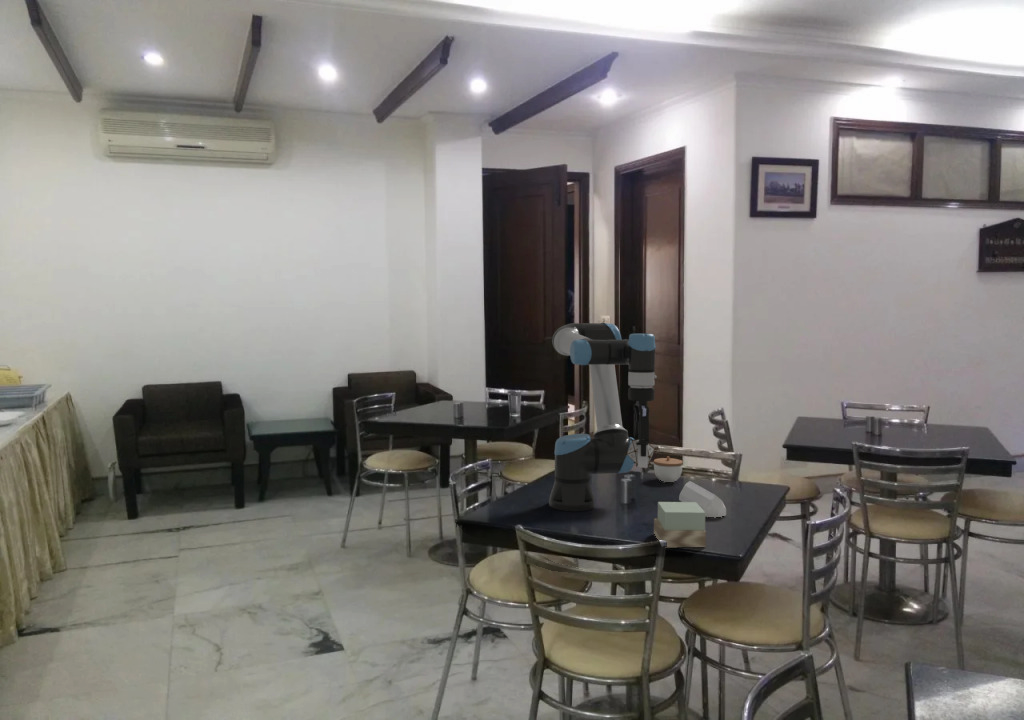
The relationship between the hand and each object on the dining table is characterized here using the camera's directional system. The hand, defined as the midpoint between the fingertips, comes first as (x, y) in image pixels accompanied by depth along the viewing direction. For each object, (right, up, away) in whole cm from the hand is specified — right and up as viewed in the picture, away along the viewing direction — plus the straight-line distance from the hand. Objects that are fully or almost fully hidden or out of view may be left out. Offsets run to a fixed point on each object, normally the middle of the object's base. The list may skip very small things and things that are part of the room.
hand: (640, 464), depth 219 cm
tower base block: (+10, -21, -7) cm, 24 cm away
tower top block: (+10, -16, -7) cm, 20 cm away
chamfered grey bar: (+25, -19, +26) cm, 41 cm away
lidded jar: (+21, -16, +65) cm, 70 cm away
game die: (0, 0, 0) cm, 0 cm away
